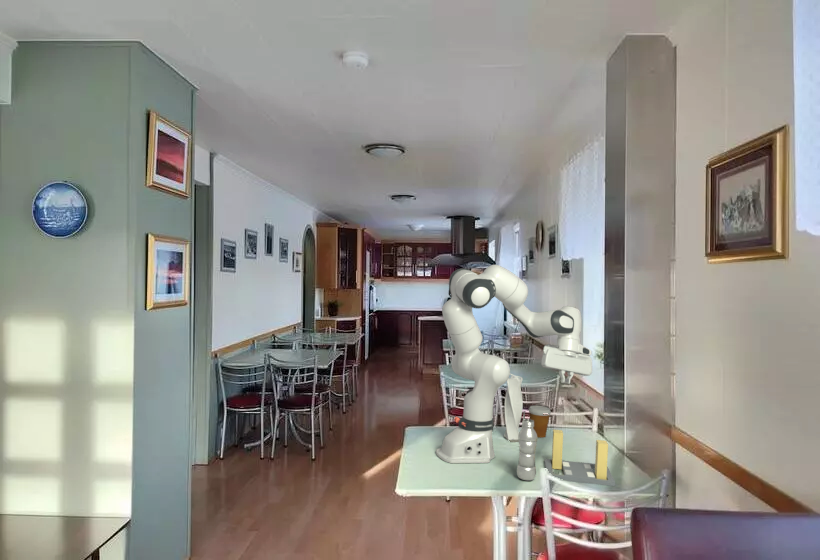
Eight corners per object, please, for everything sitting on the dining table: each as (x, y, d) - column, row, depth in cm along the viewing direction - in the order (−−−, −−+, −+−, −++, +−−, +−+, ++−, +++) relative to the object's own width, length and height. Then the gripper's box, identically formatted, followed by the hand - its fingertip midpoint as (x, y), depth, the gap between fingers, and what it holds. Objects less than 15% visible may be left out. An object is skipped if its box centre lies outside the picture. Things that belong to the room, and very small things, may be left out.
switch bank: (614, 486, 178) (615, 481, 178) (547, 478, 182) (547, 473, 182) (606, 469, 194) (606, 464, 194) (544, 462, 198) (544, 458, 198)
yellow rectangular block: (561, 469, 191) (563, 433, 191) (552, 468, 192) (554, 432, 191) (560, 465, 195) (562, 430, 195) (551, 464, 196) (553, 429, 195)
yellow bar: (606, 482, 181) (608, 444, 180) (596, 481, 181) (598, 443, 181) (604, 477, 185) (606, 440, 184) (594, 476, 185) (596, 439, 185)
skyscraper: (507, 442, 220) (510, 375, 219) (499, 436, 228) (502, 371, 227) (525, 441, 222) (529, 375, 221) (517, 435, 230) (520, 371, 229)
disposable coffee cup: (541, 440, 225) (543, 412, 224) (522, 434, 232) (524, 407, 231) (553, 436, 231) (555, 409, 231) (535, 430, 238) (536, 404, 238)
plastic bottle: (539, 479, 181) (542, 420, 181) (529, 484, 176) (532, 424, 176) (522, 473, 186) (525, 416, 185) (512, 478, 181) (515, 420, 180)
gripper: (548, 342, 203) (544, 378, 200) (595, 352, 207) (593, 387, 204) (540, 343, 209) (536, 379, 205) (586, 353, 213) (584, 388, 209)
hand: (565, 383), depth 205 cm, fingers closed
